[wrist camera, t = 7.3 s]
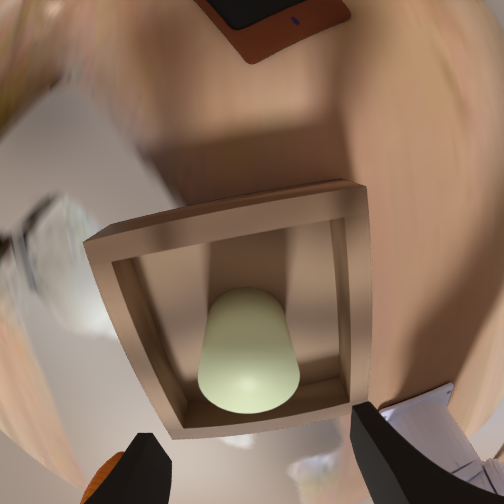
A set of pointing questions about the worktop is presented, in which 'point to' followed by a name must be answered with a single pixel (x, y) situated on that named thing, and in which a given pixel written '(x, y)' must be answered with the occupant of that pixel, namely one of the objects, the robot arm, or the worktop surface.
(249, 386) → the green cylinder
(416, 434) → the robot arm
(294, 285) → the walnut tray
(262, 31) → the smartphone
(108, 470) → the carrot
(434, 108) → the worktop surface
